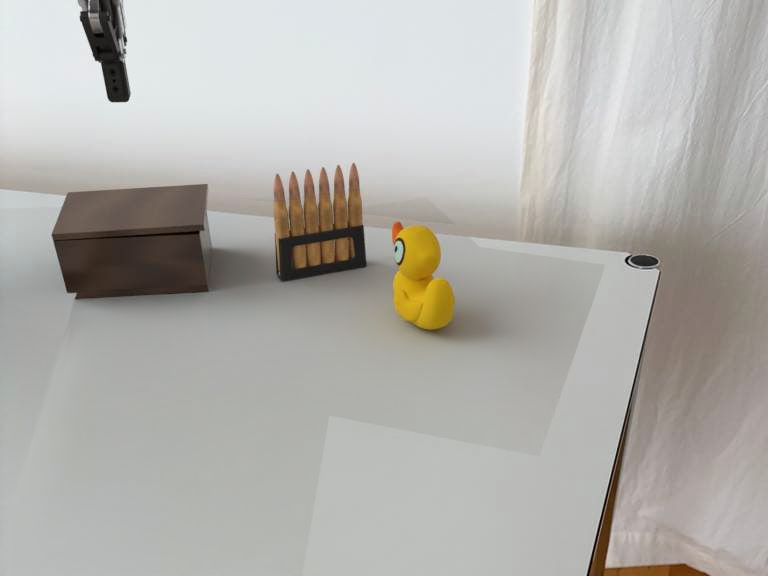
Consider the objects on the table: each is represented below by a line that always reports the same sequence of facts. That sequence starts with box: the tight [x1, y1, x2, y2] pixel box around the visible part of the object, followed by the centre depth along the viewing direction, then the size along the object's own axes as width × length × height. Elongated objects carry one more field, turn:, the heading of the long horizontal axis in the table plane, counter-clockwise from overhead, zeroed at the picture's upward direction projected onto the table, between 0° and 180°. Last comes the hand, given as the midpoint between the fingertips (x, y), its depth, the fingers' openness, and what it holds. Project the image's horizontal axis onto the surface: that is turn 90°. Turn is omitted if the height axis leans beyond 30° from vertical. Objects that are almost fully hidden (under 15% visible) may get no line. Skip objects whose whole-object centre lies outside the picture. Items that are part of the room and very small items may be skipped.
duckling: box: [391, 221, 456, 330], centre depth 95 cm, size 11×5×10 cm, turn 27°
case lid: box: [51, 183, 210, 241], centre depth 101 cm, size 16×12×1 cm
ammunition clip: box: [273, 162, 368, 282], centre depth 103 cm, size 11×2×12 cm, turn 112°
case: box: [52, 211, 213, 299], centre depth 104 cm, size 16×12×7 cm
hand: (119, 100), depth 94 cm, fingers closed
